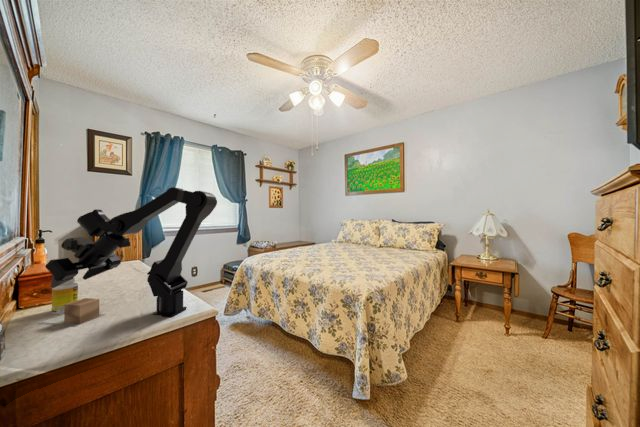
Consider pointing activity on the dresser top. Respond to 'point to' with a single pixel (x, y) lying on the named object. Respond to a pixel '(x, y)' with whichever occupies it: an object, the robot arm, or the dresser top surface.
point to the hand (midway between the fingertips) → (68, 282)
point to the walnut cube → (81, 311)
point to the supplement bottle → (64, 295)
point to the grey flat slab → (60, 321)
